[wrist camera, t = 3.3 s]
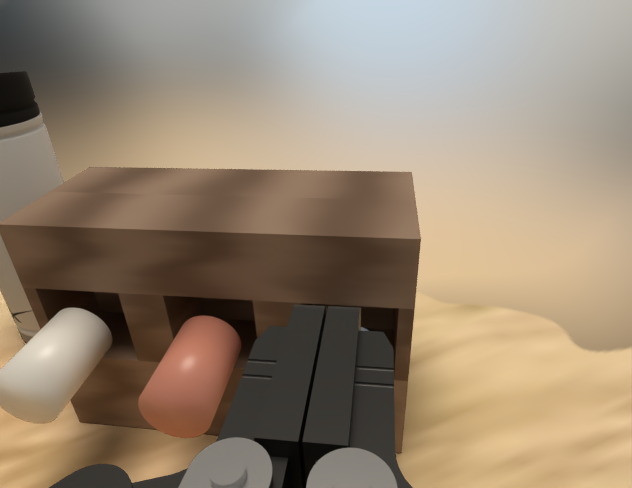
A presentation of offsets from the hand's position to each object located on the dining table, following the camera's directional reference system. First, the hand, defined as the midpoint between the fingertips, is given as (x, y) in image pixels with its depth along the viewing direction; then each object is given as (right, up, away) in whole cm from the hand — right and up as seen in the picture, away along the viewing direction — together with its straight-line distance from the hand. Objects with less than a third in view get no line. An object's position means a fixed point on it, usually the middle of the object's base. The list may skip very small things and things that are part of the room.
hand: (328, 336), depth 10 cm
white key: (-13, -5, +12) cm, 19 cm away
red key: (-6, -5, +11) cm, 14 cm away
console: (-5, -8, +20) cm, 22 cm away
